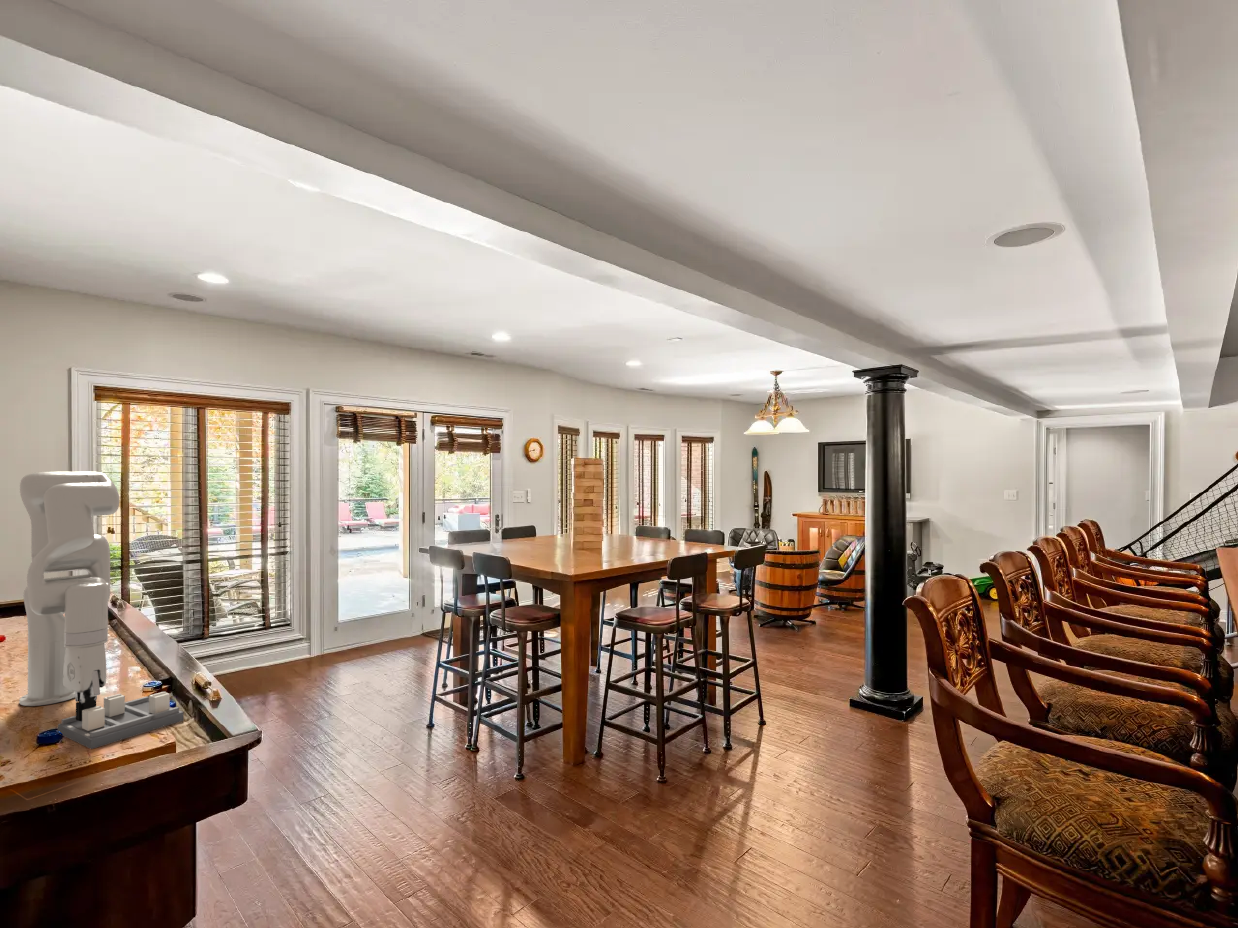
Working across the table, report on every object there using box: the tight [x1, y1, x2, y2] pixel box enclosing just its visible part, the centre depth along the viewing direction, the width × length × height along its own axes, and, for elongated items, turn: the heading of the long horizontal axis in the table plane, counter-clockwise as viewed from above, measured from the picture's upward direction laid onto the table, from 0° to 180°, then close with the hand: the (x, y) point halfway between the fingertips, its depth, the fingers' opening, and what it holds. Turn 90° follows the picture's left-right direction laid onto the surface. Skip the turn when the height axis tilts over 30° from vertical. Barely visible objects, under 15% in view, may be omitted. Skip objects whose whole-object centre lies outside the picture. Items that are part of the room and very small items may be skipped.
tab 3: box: [148, 691, 171, 714], centre depth 151 cm, size 3×3×4 cm
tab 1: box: [82, 705, 105, 731], centre depth 141 cm, size 3×3×4 cm
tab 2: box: [103, 693, 126, 717], centre depth 149 cm, size 3×3×4 cm
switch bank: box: [57, 696, 185, 750], centre depth 147 cm, size 17×18×3 cm
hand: (85, 718), depth 143 cm, fingers closed
